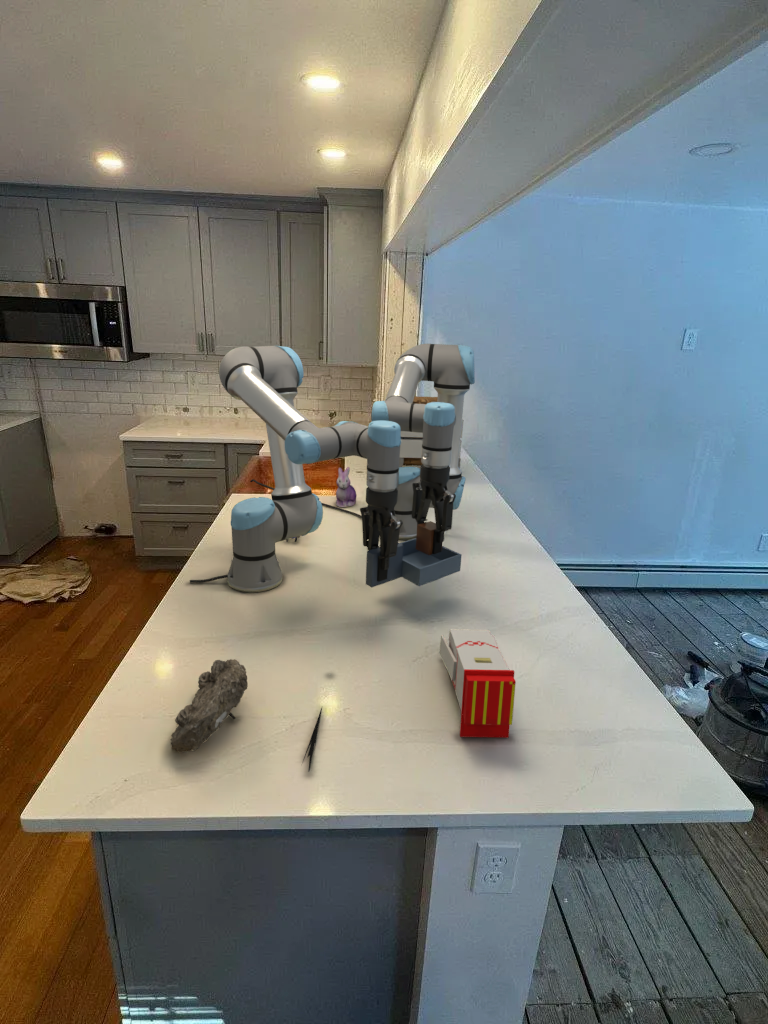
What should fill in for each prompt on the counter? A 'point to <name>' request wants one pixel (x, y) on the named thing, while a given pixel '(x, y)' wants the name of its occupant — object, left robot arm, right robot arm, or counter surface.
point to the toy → (479, 682)
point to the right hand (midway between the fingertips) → (429, 548)
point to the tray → (413, 564)
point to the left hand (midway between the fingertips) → (378, 577)
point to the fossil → (210, 704)
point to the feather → (313, 740)
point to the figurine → (345, 490)
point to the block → (425, 537)
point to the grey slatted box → (416, 441)
